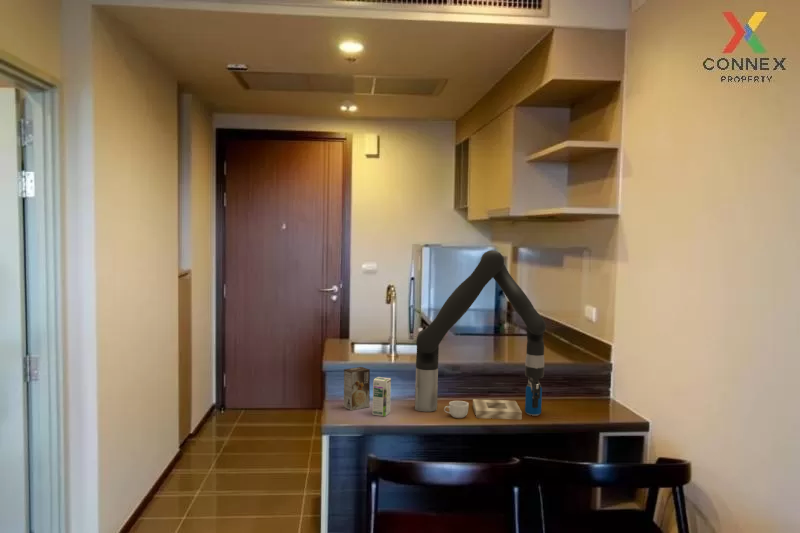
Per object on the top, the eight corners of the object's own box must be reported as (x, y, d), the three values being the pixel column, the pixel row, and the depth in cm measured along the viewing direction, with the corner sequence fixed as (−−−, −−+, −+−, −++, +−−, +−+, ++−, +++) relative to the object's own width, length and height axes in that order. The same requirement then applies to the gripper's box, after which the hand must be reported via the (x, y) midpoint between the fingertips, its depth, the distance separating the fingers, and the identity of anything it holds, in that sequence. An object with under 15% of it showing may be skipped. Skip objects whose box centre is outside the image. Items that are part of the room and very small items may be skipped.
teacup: (464, 413, 237) (464, 400, 237) (471, 419, 230) (471, 405, 230) (441, 414, 235) (441, 401, 235) (446, 420, 228) (447, 406, 227)
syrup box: (371, 415, 232) (372, 379, 231) (377, 411, 237) (378, 376, 237) (385, 416, 230) (386, 380, 229) (390, 412, 236) (391, 377, 235)
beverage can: (541, 416, 234) (542, 387, 234) (525, 415, 236) (526, 386, 235) (540, 412, 241) (541, 383, 240) (524, 410, 242) (525, 382, 241)
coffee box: (361, 403, 247) (361, 366, 247) (369, 407, 242) (370, 369, 242) (343, 407, 242) (343, 369, 241) (351, 410, 237) (352, 372, 236)
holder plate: (476, 417, 231) (476, 410, 231) (472, 406, 247) (473, 399, 247) (521, 419, 231) (521, 412, 230) (515, 407, 246) (515, 400, 246)
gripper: (522, 360, 244) (521, 399, 245) (528, 368, 230) (527, 410, 231) (540, 361, 244) (539, 400, 245) (547, 369, 230) (546, 410, 231)
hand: (533, 405), depth 238 cm, fingers closed on beverage can, 6 cm apart
